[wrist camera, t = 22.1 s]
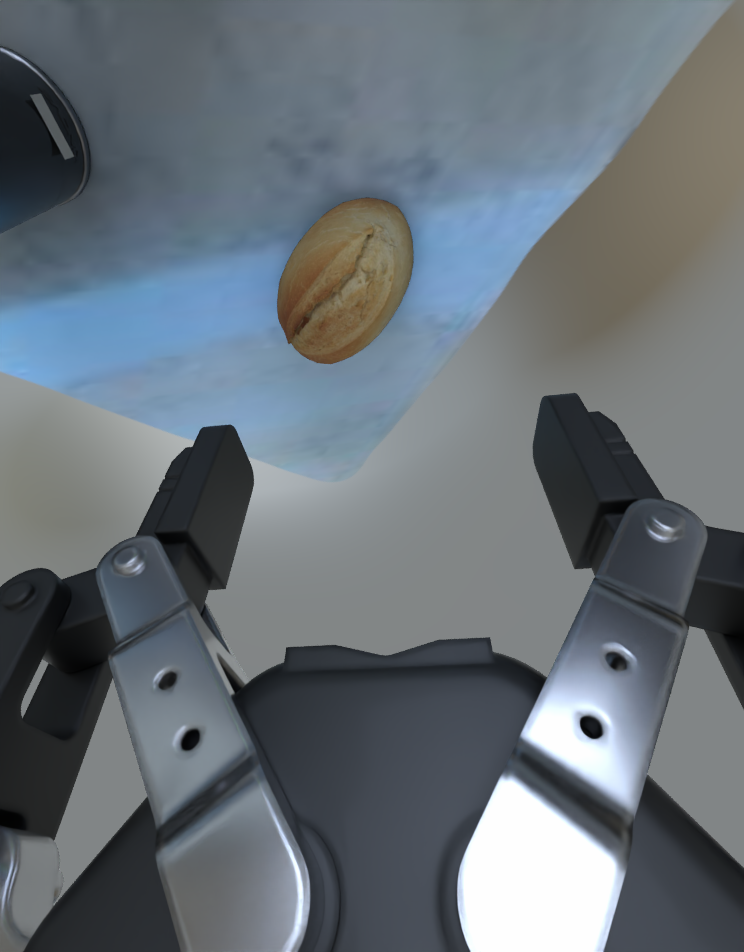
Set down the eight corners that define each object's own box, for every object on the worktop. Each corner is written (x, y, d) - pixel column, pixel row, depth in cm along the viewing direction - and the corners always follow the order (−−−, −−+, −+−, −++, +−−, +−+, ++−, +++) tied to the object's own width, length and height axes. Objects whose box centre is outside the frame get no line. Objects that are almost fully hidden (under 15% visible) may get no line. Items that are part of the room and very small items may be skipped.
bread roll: (259, 312, 42) (242, 354, 37) (339, 155, 34) (332, 177, 28) (344, 362, 46) (340, 407, 40) (436, 232, 37) (447, 266, 32)
